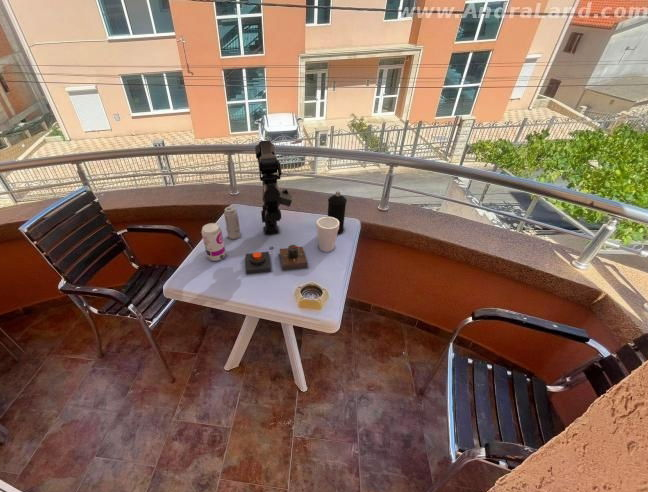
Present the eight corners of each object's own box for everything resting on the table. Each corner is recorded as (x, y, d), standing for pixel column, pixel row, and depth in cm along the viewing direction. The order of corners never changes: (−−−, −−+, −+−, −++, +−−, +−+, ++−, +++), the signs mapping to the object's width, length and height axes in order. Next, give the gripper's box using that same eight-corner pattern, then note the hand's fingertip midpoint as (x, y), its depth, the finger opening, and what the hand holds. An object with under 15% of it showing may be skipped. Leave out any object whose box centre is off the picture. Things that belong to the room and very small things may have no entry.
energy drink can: (240, 239, 150) (236, 212, 141) (227, 240, 151) (222, 212, 141) (241, 232, 155) (237, 205, 145) (229, 233, 155) (224, 205, 146)
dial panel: (280, 254, 140) (279, 248, 138) (302, 251, 141) (302, 246, 138) (283, 270, 132) (282, 264, 130) (307, 267, 132) (307, 262, 130)
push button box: (246, 257, 140) (245, 250, 137) (268, 255, 140) (268, 248, 137) (246, 274, 131) (245, 266, 129) (271, 271, 132) (270, 264, 129)
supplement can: (228, 251, 144) (223, 223, 134) (220, 263, 138) (214, 234, 128) (212, 249, 146) (206, 221, 136) (204, 260, 140) (197, 231, 130)
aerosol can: (339, 236, 148) (343, 197, 135) (323, 231, 151) (325, 193, 138) (346, 227, 153) (350, 189, 140) (330, 223, 157) (333, 185, 144)
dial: (289, 258, 133) (288, 250, 130) (287, 252, 136) (287, 244, 133) (298, 257, 133) (298, 249, 130) (297, 251, 136) (296, 243, 133)
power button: (253, 255, 135) (252, 252, 133) (261, 254, 135) (261, 251, 134) (253, 260, 132) (253, 257, 131) (262, 260, 132) (261, 256, 131)
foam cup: (336, 254, 138) (338, 229, 129) (315, 253, 139) (315, 228, 131) (337, 241, 145) (339, 217, 136) (317, 240, 146) (318, 216, 138)
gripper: (293, 198, 119) (294, 233, 129) (287, 177, 133) (288, 210, 143) (264, 201, 119) (267, 236, 129) (261, 179, 133) (263, 212, 143)
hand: (272, 223), depth 136 cm, fingers closed
